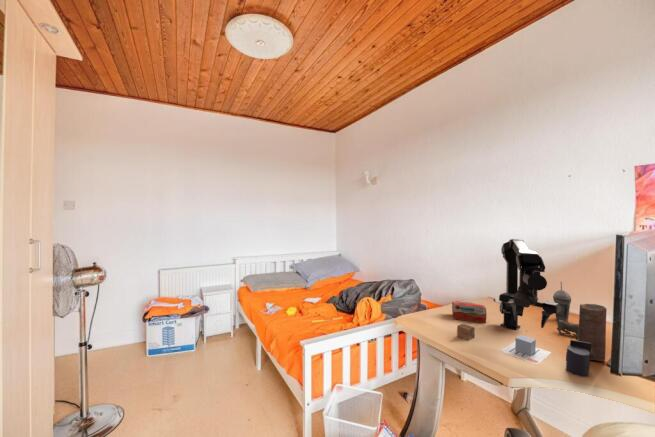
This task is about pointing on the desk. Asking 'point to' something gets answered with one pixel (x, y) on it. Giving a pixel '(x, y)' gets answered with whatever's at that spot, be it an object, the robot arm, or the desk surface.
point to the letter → (534, 359)
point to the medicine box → (469, 311)
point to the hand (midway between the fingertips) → (527, 324)
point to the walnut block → (465, 331)
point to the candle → (593, 329)
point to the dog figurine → (567, 327)
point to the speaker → (578, 358)
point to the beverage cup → (562, 303)
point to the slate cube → (525, 345)
